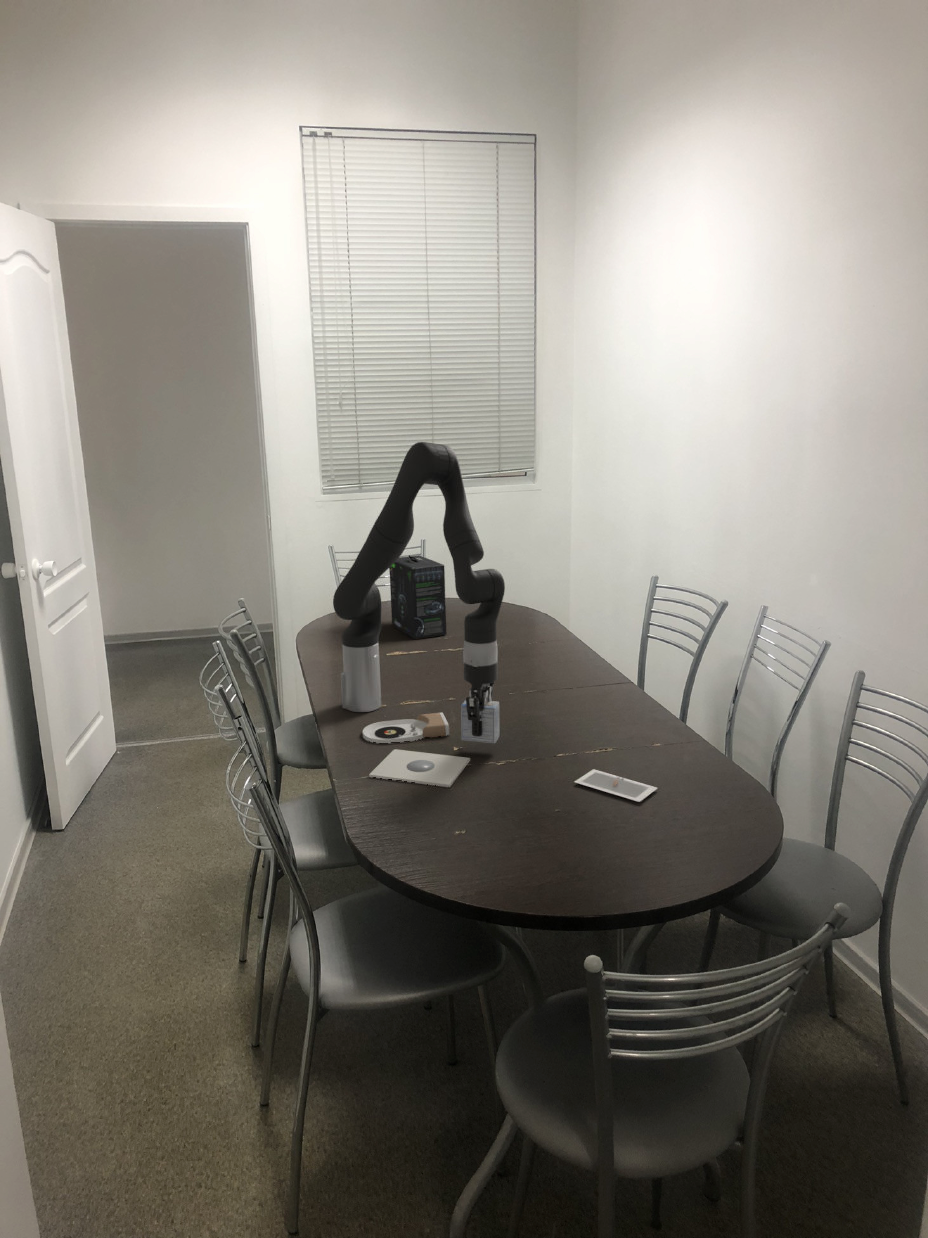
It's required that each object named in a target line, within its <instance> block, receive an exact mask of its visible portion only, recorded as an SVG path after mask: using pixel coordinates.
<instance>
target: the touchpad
mask: <svg viewBox="0 0 928 1238" xmlns="http://www.w3.org/2000/svg"><path fill="white" fill-rule="evenodd" d="M574 783H576V784H580V785H583V786H586V787H590V788H592V789H596V790H598V791H602V792H604V793H605V792H606V793H608V794H611V795H615V796H619V797H622V798H626V799H628V800H631V801H635V802H639V803H640V802H642V801H643V800H644V799H646V798H647V797H648V796H649V795H650V794H652V793H653V792H655V791H656V790H657V789H658V787H656V786H652V785H649V784H646V783H642V782H639V781H635V780H633V779H632V780H631V779H629V778H625V777H623V776H622V777H621V776H618V775H614V774H611V773H608V772H605V771H601V770H598V769H595V768H593V769H591V770H590V771H589V772H587V773H585V774H584V775H583V776H580V777H579V778H578V779H576V780H575V781H574Z"/></svg>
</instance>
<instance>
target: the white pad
mask: <svg viewBox="0 0 928 1238" xmlns="http://www.w3.org/2000/svg"><path fill="white" fill-rule="evenodd" d="M470 762H471V758H470V757H463V756H455V755H447V754H438V753H429V752H422V751H413V750H404V749H397V748H396V749H395V748H394V749H393V750H392V751H390V753H389V754H388V755H387V756H386V757H384V759H383V760H382V761H381V762H380V763H379V764H378V765H377V766H376V767H375V768H374V769H373V770H372V771H371V772H370V773H369V774H368V775H369V776H368V777H369V778H373V777H376V778H375V779H380V778H382V780H388V779H392V781H396V780H402V781H401V782H404V781H407V782H406V783H411V782H415V783H414V784H419V785H420V784H422V785H427V784H428V786H435V785H436V787H443V788H444V787H445V788H450V787H451V786H452V785H453V784H454V782H455V781H456V780H457V779H458V777H460V774H461V773H462V772H463V771H464V769H465V768H466V767H467V766H468V764H469V763H470Z"/></svg>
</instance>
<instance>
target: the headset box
mask: <svg viewBox="0 0 928 1238" xmlns="http://www.w3.org/2000/svg"><path fill="white" fill-rule="evenodd" d="M388 571H389V585H390V605H391V606H390V609H391V611H390V613H391V625H392V626H393V627H395V628H396V629H398V630H399V631H400V632H402V633H404V634H406V635H407V636H409V637H410V638H412V639H415V640H418V639H426V638H432V637H438V636H445V635H448V634H447V633H448V631H447V614H446V613H447V608H446V605H447V604H446V577H445V575H446V574H445V564H443V563H440V562H438V561H435V560H432V559H429V558H427V557H424V556H422V555H418V554H417V555H408V556H402V557H401V556H400V557H399V558H398V559H397V561H396V562H395V563H394V564H393V565H392V566H391V567H390V568H389V569H388Z"/></svg>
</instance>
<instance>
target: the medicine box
mask: <svg viewBox="0 0 928 1238" xmlns="http://www.w3.org/2000/svg"><path fill="white" fill-rule="evenodd" d="M481 706H482V705H479V707H481ZM460 710H461V711H460V712H461V714H460V716H461V717H460V718H461V720H460V721H461V723H460V724H461V741H469V742H477V743H487V744H496V743H497V741H498V739H499V738H500V702H499V701H495V700H493V701H486V707H485V710H484V711H483V717H482V718H483V719H482V735H481V736H480V737H478V736H473V735H472V720H468V715H467V706H466V699H465V700H464V701H463V702H462V703H461V706H460ZM479 712H480V711H479ZM474 715H476V714H475V713H474Z"/></svg>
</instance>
